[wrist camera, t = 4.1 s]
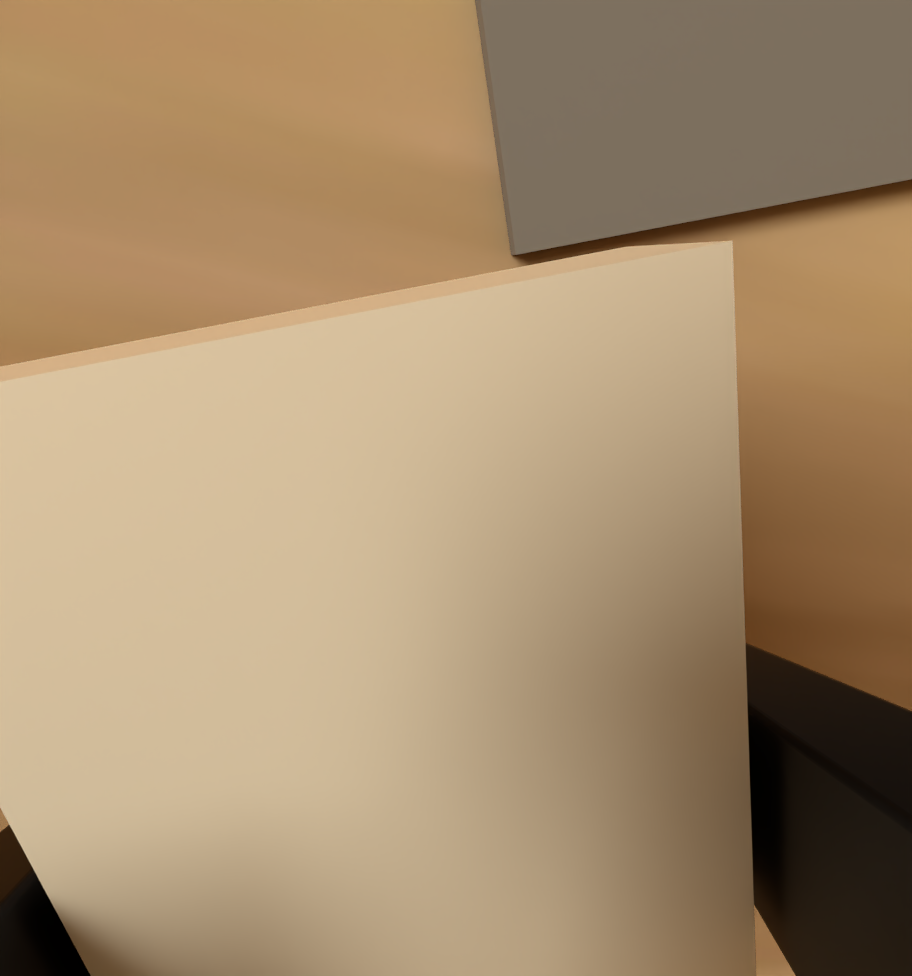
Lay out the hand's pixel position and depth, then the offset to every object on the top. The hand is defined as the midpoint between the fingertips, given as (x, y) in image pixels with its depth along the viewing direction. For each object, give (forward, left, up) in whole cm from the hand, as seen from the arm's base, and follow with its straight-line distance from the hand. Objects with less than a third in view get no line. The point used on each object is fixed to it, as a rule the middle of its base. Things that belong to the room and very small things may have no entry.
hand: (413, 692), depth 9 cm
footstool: (0, 0, -3) cm, 3 cm away
